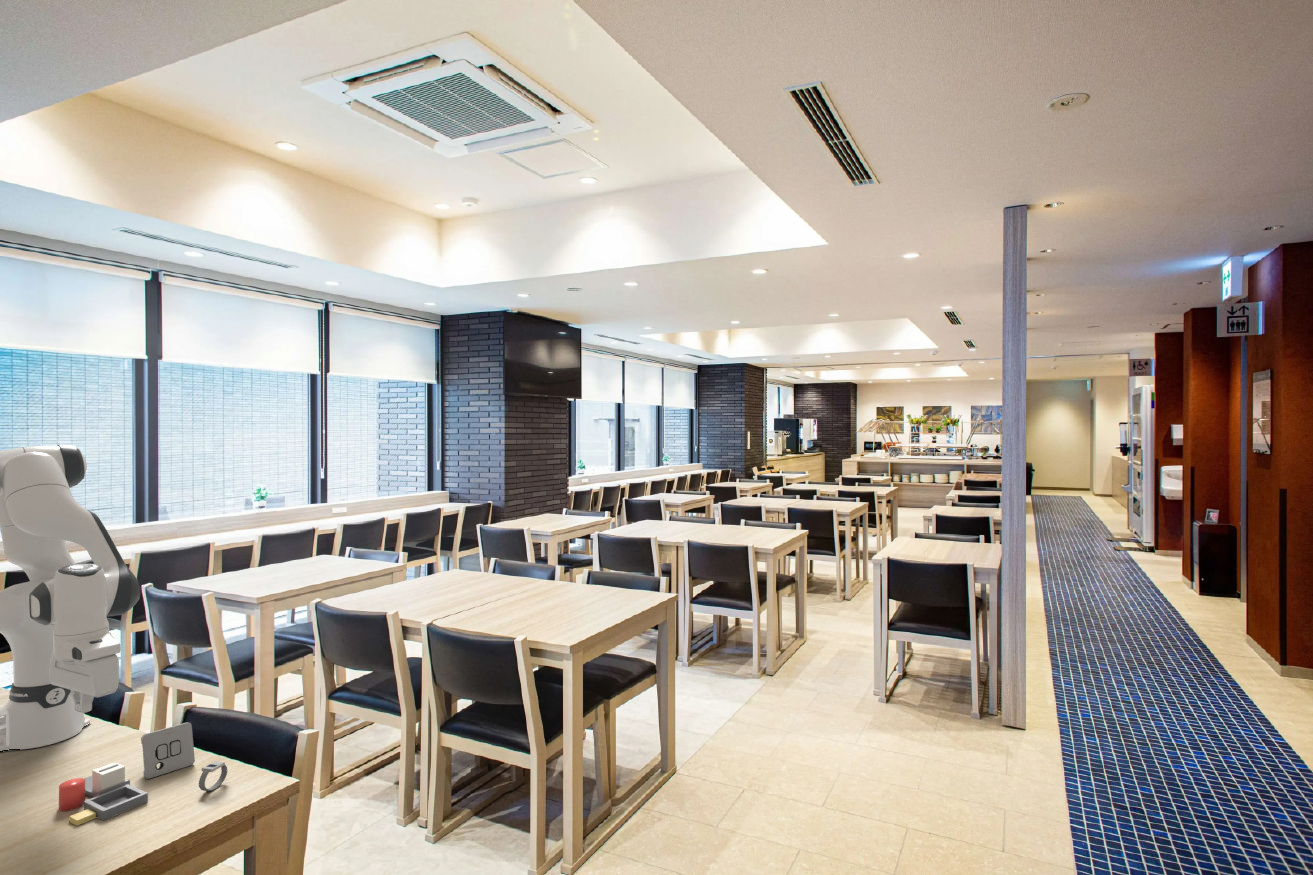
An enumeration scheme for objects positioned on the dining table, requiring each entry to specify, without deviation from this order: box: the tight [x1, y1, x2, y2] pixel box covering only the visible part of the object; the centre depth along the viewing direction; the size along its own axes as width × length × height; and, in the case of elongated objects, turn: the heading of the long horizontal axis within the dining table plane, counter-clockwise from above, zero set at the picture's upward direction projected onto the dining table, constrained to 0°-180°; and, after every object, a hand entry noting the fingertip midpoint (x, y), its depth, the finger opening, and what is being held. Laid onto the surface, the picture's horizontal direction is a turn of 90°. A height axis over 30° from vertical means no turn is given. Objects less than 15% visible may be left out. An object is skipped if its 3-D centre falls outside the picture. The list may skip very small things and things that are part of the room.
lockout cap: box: [58, 777, 86, 812], centre depth 135 cm, size 4×4×4 cm
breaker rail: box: [83, 775, 131, 799], centre depth 142 cm, size 13×5×2 cm, turn 63°
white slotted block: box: [91, 762, 126, 794], centre depth 141 cm, size 4×4×5 cm
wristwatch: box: [198, 760, 228, 792], centre depth 142 cm, size 6×3×5 cm, turn 170°
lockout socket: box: [68, 784, 149, 826], centre depth 134 cm, size 8×11×2 cm
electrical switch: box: [140, 722, 196, 780], centre depth 151 cm, size 9×5×9 cm, turn 141°
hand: (83, 710), depth 140 cm, fingers closed
